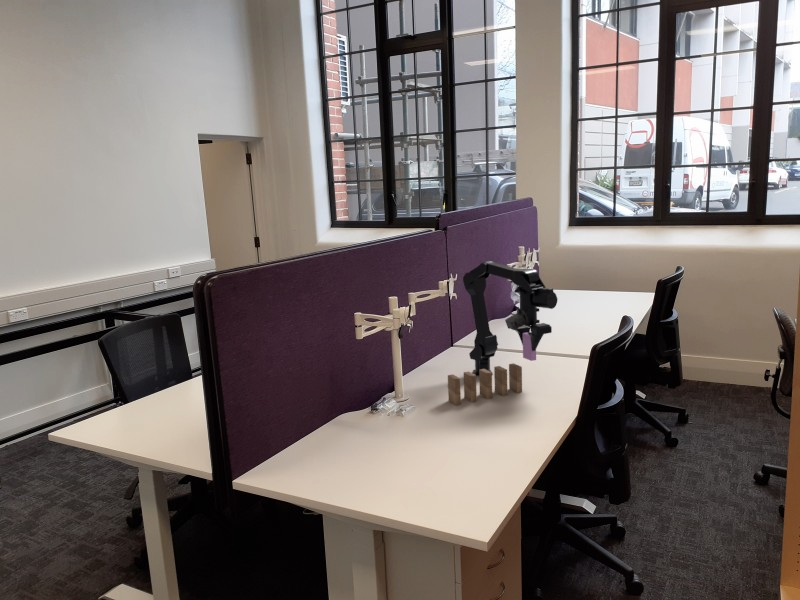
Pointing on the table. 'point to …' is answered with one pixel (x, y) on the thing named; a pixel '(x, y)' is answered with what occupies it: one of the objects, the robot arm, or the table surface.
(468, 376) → the walnut domino
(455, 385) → the walnut domino
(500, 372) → the walnut domino
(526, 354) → the plum domino
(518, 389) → the walnut domino
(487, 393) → the walnut domino
